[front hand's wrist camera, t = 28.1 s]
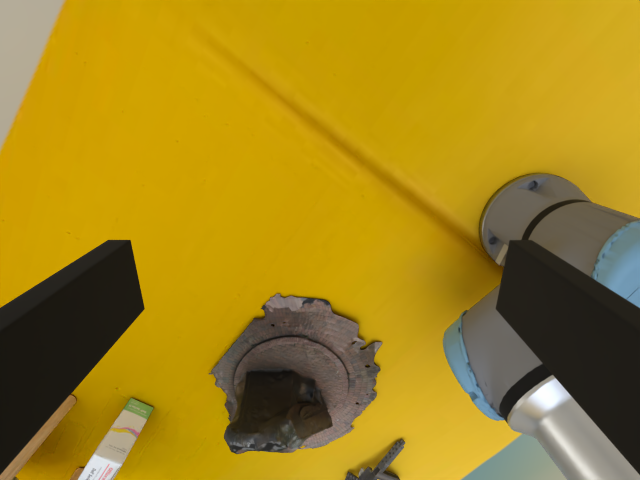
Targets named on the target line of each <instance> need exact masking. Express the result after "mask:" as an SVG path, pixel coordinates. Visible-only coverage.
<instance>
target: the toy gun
mask: <svg viewBox="0 0 640 480" xmlns="http://www.w3.org/2000/svg"><path fill="white" fill-rule="evenodd" d="M404 444H405V442H404V440H402V439H401V440H400V442H399V441H397V442H396V444H395V445H394V446H393V447H392V448H391V450H390V451H389V452H388V453H387V454H386V456H385V457H384V458H383V459H382V460H381V462H380V463H379V464H378V465H377V466H376V467H375V469H374V470H372V468H370V467H368V468H367V469H366V470H365V469H364V468H361V470H360V472H359V478H358V477H356V476H355V475H354V474H352V473H350V472H348V474H347V476H346V479H345V480H377V479H379V480H400V479H399V477H398V476H397V475H395V474H393V473H390V472H388V471H385V469H386V468H387V467H388V466H389V465H390V464H391V462H392V461H393V460H394V459H395V458H396V456H397V455H398V454H399V453H400V452H401V450H402V449H403V448H404V446H403V445H404Z"/></svg>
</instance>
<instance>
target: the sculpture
mask: <svg viewBox="0 0 640 480" xmlns="http://www.w3.org/2000/svg"><path fill="white" fill-rule="evenodd" d="M261 309H263V310H264V311H265V318H263V319H257V318H254V320H253V322H252V323H250V325H249V326H248V327H247V329H246V330H245V331H244V332H243V334H241V336H240V337H239V338H238V339H237V340H236V342H235V343H234V344H233V345H232V346H231V348H230V349H229V350H228V352H226V354H225V355H224V356H223V357H222V359H221V360H220V361H219V364H218V365H216V367H214V368H213V369H212V373H209V374H214V376H215V378H216V382H215V385H216V386H217V387H220V388H222V390H223V391H224V392H225V393H226V394H227V402H226V403H225V407H226V409H227V410H228V412H229V414H230V415H231V416H230V415H229V418H230V419H229V418H228V419H229V420H230V424H229V425H228V426H227V428H226V430H225V434H224V439H225V441H226V442H227V444H228V446H229V448H230V450H231V452H233V453H236V454H240V453H244V452H246V451H266V452H280V453H291V452H294V451H295V450H297V449H306V448H317V447H321V446H324V445H327V444H328V443H330V442H331V441H334V440H336V439H338V438H340V437H342V436H344V435H345V434H347V433H349V432H350V431H351V430H352V429H354V428H352V427H350V426H351V424H352V422H353V420H354V419H355V418H356V417H357V416H359V415H360V414H362V411H363V410H365V408H366V407H367V406H368V405H369V404H370V403H371V401H373V399H375V398H376V395H377V393H376V392H374V391H373V390H372V389H373V387H374V386H375V385H376V380H375V377H377V373H378V372H379V371H380V368H379V367H378V366H376V365H375V364H374V356H375V354H376V352H377V350H378V349H379V348H380V346H381V345H382V342H375V343H372V344H371V345H369V346H368V347H367V348H366V349H365V350H360V347H361V346H363V345H365V344H366V342H365V341H364V340H361V339H359V338H358V337H357V335H358V329H359V326H358V324H357V323H355V322H353V321H351V320H348V319H346V318H343V317H341V316H338V315H336V314H334V313H333V312H332V310H331V306H330V303H329V302H327V301H325V300H321V299H310V298H296V297H293V296H289V297H287V298H283V297H280V294H276V296H275V297H273V298H271V297H270V301H268V302H267V303H266V305H264V306H263V307H262V308H261ZM283 322H286V323H283ZM270 324H274V325H275V326H274V327H273V326H271V325H270ZM354 341H357V342H355V344H353V345H352V342H354ZM367 364H368V365H370V367H369V368H366V367H365V366H366V365H367ZM218 377H219V378H218ZM219 383H221V384H219ZM366 394H368V395H366ZM356 402H358V403H359V405H357V404H356ZM302 445H306V447H304V448H300V447H301V446H302Z"/></svg>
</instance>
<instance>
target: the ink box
mask: <svg viewBox="0 0 640 480" xmlns="http://www.w3.org/2000/svg"><path fill="white" fill-rule="evenodd" d="M152 410H153V407H151V406H149V405H146V404H144V403H142V402H139V401H137V400H135V399H133V398H131V399H130V400H129V402H128V403H127V405H126V406H125V408H124V409H123V410H122V412H121V413H120V415H119V416H118V418H117V419H116V421H115V422H114V424H113V425H112V427H111V428H110V430H109V431H108V433H107V434H106V436H105V437H104V439H103V440H102V442H101V443H100V445H99V446H98V448H97V449H96V451H95V452H94V454H93V455H92V457H91V458H90V460H89V462H88V463H87V465H86V467H85V468H84V470H83V471H82V473H81V475H80V476H79V478H78V480H113V479H114V477H115V476H116V474H117V473H118V471H119V469H120V468H121V466H122V464H123V463H124V461H125V459H126V457H127V455H128V454H129V452H130V450H131V448H132V446H133V445H134V443H135V441H136V439H137V437H138V436H139V434H140V432H141V430H142V428H143V427H144V425H145V423H146V421H147V419H148V418H149V416H150V414H151V412H152Z"/></svg>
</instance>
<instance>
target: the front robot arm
mask: <svg viewBox="0 0 640 480" xmlns="http://www.w3.org/2000/svg"><path fill="white" fill-rule="evenodd" d="M479 235H480V240H481V243H482V246H483V248H484V250H485V251H486V252H487V254H488V255H489V256H490V257H491V258H492V259H494V260H495V262H496V263H497V264H498V265H502V266H504V270H503V275H502V279H501V284H500V285H498V286H497V287H496V288H495V289H493V290H492V291H491V292H490V293H489V294H487V295H486V296H485V297H484V298H483V299H481V300H480V301H479V302H478V303H476V304H475V305H474V306H473V307H472V308H470V309H469V310H466V311H464V312H463V313H462V314H461V315H460V317H459V319H457V320H456V321H455V322H454V323H453V324H452V325H451V326H450V327H449V328H448V329H447V330H446V331H445V333H444V338H443V348H444V352H445V355H446V358H447V361H448V363H449V365H450V367H451V369H452V371H453V373H454V375H455V377H456V378H457V380H458V382H459V383H460V385H461V387H462V388H463V390H464V391H465V392H466V393H468V394H469V395H470V397H471V399H472V401H473V403H474V404H475V405H476V406H477V407H478V409H479V410H480V411H481V412H483V413H484V414H485V415H486V416H487V417H489V418H491V419H493V420H496V421H499V420H505V421H506V422H507V423H508V425H509V426H510V428H511V429H512V430H514V431H516V432H519V433H523V434H526V435H529V436H532V437H534V438H536V439H537V440H538V441H539V443H540V444H541V445H542V447H543V448H544V449H545V451H546V452H547V453H548V455H549V456H550V457H551V459H552V460H553V461H554V463H555V464H556V465H557V467H558V468H559V469H560V471H561V472H562V474H563V475H564V476H565V477H566V479H567V480H640V218H637V217H634V216H631V215H628V214H625V213H622V212H619V211H616V210H613V209H610V208H607V207H604V206H601V205H598V204H595V203H592V202H591V201H590V200H589V199H588V198H587V197H586V195H585V194H584V193H583V192H582V191H581V190H580V189H579V188H578V187H577V186H576V185H574V184H573V183H571V182H570V181H568V180H566V179H564V178H562V177H559V176H556V175H552V174H547V173H533V174H527V175H524V176H521V177H518V178H516V179H514V180H512V181H510V182H508V183H507V184H505V185H504V186H502V187H501V188H500V189H499V190H498V191H497V192H496V193H495V194H494V195H493V196H492V197H491V198H490V200H489V201H488V203H487V204H486V206H485V208H484V210H483V213H482V215H481V219H480V224H479ZM143 310H144V304H143V299H142V294H141V289H140V284H139V279H138V275H137V270H136V265H135V260H134V255H133V250H132V245H131V241H130V240H108V241H106V242H104V243H103V244H101V245H100V246H98V247H96V248H95V249H93V250H92V251H90V252H88V253H87V254H85V255H84V256H82V257H80V258H79V259H77V260H76V261H74V262H73V263H71V264H69V265H68V266H66V267H65V268H63V269H61V270H60V271H58V272H57V273H55V274H53V275H52V276H50V277H49V278H47V279H46V280H44V281H42V282H41V283H39V284H38V285H36V286H34V287H33V288H31V289H30V290H28V291H26V292H25V293H23V294H22V295H20V296H18V297H17V298H15V299H14V300H12V301H11V302H9V303H7V304H6V305H4V306H3V307H1V308H0V475H1V474H2V473H3V471H4V470H5V469H6V468H7V467H8V466H9V465H10V463H11V462H12V461H13V460H14V459H15V458H16V456H17V455H18V454H19V453H20V452H21V451H22V450H23V448H24V447H25V446H26V445H27V444H28V443H29V441H30V440H31V439H32V438H33V437H34V436H35V435H36V433H37V432H38V431H39V430H40V429H41V428H42V426H43V425H44V424H45V423H46V422H47V421H48V420H49V418H50V417H51V416H52V415H53V414H54V413H55V412H56V410H57V409H58V408H59V407H60V406H61V405H62V403H63V402H64V401H65V400H66V399H67V398H68V397H69V395H70V394H71V393H72V392H73V391H74V390H75V388H76V387H77V386H78V385H79V384H80V383H81V382H82V380H83V379H84V378H85V377H86V376H87V375H88V374H89V372H90V371H91V370H92V369H93V368H94V367H95V365H96V364H97V363H98V362H99V361H100V360H101V359H102V357H103V356H104V355H105V354H106V353H107V352H108V350H109V349H110V348H111V347H112V346H113V345H114V344H115V342H116V341H117V340H118V339H119V338H120V337H121V335H122V334H123V333H124V332H125V331H126V330H127V329H128V327H129V326H130V325H131V324H132V323H133V322H134V321H135V319H136V318H137V317H138V316H139V315H140V314H141V312H142V311H143Z"/></svg>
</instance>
